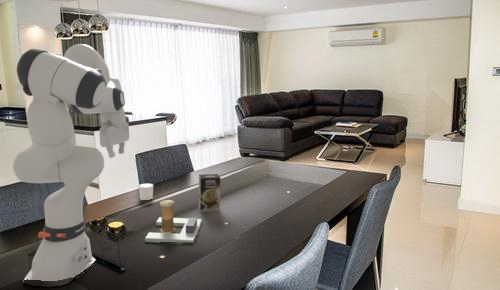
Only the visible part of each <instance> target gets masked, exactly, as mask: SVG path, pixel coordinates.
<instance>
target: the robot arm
mask: <svg viewBox="0 0 500 290" xmlns="http://www.w3.org/2000/svg"><path fill="white" fill-rule="evenodd" d="M16 74H17V78H18V81H19V83H20V85H21V86H22V91H23V92H24V94H25V95H26V96H29V97H31V96H32V101H31V102H30V104H29V105H28V108H27V112H26V113H27V114H26V122H27V127H28V132H29V136H30V138H31V144H32V145H30V146H29V147H27V148H26V149H24V150H21V151H20V152H18V153H17V154H16V156H15V158H14V160H13V164H12V170H13V172H14V175H15V176H16V178H17V179H18V180H19V181H20V182H22V183H30V184H51V183H64V186H63V187H62V188H59V189H58V190H57V191H55V192H53V193H51V194H49V195H48V197H46V199H45V200H44V203H43V208H44V220H45V221H44V222H45V223H44V227H43V230H42V231H39V232H38V234H37V235H38V236H37V237H38V238H39V239H42V240H41V242H40V244H39V247H38V248H37V251H36V253H35V255H34V256H33V259H32V262H31V269H30V270H29V271H28V273H27V274H26V276H25V277H24V279H23V281H24V280H27V279H28V280H41V281H58V280H63V279H67V278H70V277H71V278H73V277H75V276H76V275H78V274H80V273H81V272H83V271H84V270H85V269H87V268H88V267H90V266H91V265H92V264H93V263H94V262H95V261H96V258H95V257H94V256H93V254H92V249H91V243H90V242H91V241H90V240H91V239H90V238H89V237H88V235H87V233H86V232H85V231H86V222H85V218H84V213H83V212H84V211H83V210H84V208H83V206H84V196H85V193H86V190H87V189H88V187H89V186H90V185H91V183H92V182H93V181H94V180H96V179H97V178H98V177H99V176H100V175H101V174H102V173H103V170H104V168H105V159H104V156H103V154H102V152H101V151H100V149H98V148H96V147H91V146H82V145H79V146H76V144H77V140H76V135H75V133H76V132H75V129H74V128H75V126H74V123H73V120H72V116H71V113H70V112H69V108H70V111H71V112H72V113H74V114H75V115H77V116H83V115H91V114H92V115H93V114H94V115H95V114H100V122H101V126H100V128H99V145H100V146H101V148H106V151H107V153H108V158H109V159H111V158H115V156H116V153H115V152H114V146H116V145H118V154H119V155H120V154H124V153H125V146H126V145H125V144H126V142H128V141H129V140H130V127H129V123H130V118H129V116H127V115H126V113H125V109H124V106H125V104H126V101H125V92H124V91H123V90H122V85H121V82H120V80H119V79H118V78H116V77H112V76H111V74H110V71H109V67H108V65H107V62H106V61H105V60H104V58H103V57H102V56H101V55H100V53H99V52H98V51H97V50H96V49H94V48H93V47H92V46H90V45H87V44H86V43H85V44H83V43H79V44H73V45H72V46H70V47H68V48H67V50H66V51H65V53H64V55H63V56H61V55H58V54H55V53H50V52H48V50H44V49H37V48H30V49H28V50H27V51H25V52H24V53H22V55H21V56H20V57H19V60H18V61H17V66H16ZM110 76H111V77H110ZM68 106H69V108H68ZM96 262H97V261H96ZM93 265H94V264H93ZM93 265H92V266H93ZM92 266H91V267H92ZM91 267H90V268H91ZM88 269H89V268H88ZM88 269H87V270H88ZM83 273H84V272H83Z"/></svg>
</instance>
